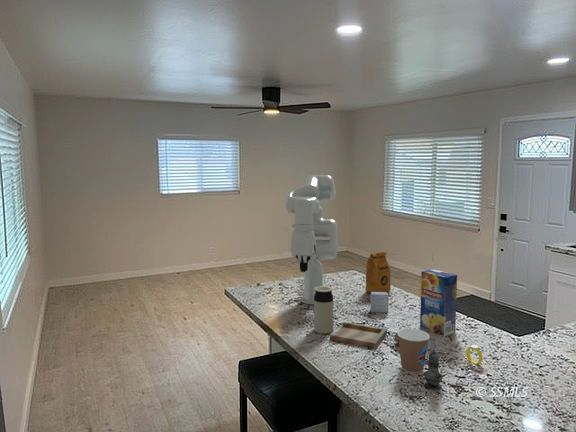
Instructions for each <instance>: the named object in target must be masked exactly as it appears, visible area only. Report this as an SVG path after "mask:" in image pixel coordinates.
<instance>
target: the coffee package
mask: <svg viewBox="0 0 576 432" xmlns="http://www.w3.org/2000/svg"><path fill="white" fill-rule="evenodd" d="M386 255H387V252H386V251H382V252H381V251H380V252H375V253H374V252H373V253H370V254H369V257H368V260H367V262H366V266H365V292H367V293H370V294H371V292H387V293H389V292H390V291H391V274H392V273H391V269H390V265H389V263H388V260H387V256H386Z"/></svg>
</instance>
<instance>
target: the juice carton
mask: <svg viewBox="0 0 576 432" xmlns="http://www.w3.org/2000/svg"><path fill="white" fill-rule="evenodd" d="M420 279H421V280H420V283H421V284H420V311H419V312H420V314H419V315H420V316H419V319H420V320H419V328H422V329H424V330H427V331H429V332H431V333H435V334H437V335H440V336H441V337H444V336H448V335H451V334H454V333H456V320H457V319H456V318H457V317H456V316H457V294H458V293H457V291H458V274H456V273H451V272H447V271H442V270H439V269H434V268H433V269H432V268H431V269H427V270H422V271H421V277H420Z"/></svg>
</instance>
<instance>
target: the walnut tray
mask: <svg viewBox="0 0 576 432" xmlns="http://www.w3.org/2000/svg"><path fill="white" fill-rule="evenodd" d="M386 335H388V328H383V327H376V326H370V325H364V324H360V323H359V324H358V323H353V322H346V321H343V322H342V325H341V327H340V328H339V329H338V330H337V331H336V332H335V333H334V334H333V333H329V341H335V342H340V343H345V344H350V345H355V346H360V347H364V348H370V349H375V350H376V349H377V348H378V346H379V345H380V344H381V342H382V341H383V340H384V338H385V337H386Z"/></svg>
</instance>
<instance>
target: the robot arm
mask: <svg viewBox="0 0 576 432" xmlns="http://www.w3.org/2000/svg"><path fill="white" fill-rule="evenodd" d="M336 189H337V188H336V185H335V180H334V178H333V177H332V176H331V175H329V174H325V175H324V174H319V175H318V174H311V175H308V176H306V177H305V179H304V181H303V184H302V186H301V187H298V188H295V189H293V190H292V191H290V192H289V193H288V196H287V198H286V199H287V200H286V204H285V208H286V211H287V213H288V214H289V215H290V214H291V215H294V224H291V228H292V229H293V231H292V233H291V241H290V254H291V257H293V258H296V259H297V261H298V263H299V270H300V272H301V273H303V291H302V290H298V291H297V296H298V297H301V298H300V301H301V302H302V303H303V304H305V305H313V306H314V295H315V293H316V292H315V287H318V286H324V283H323V282H324V267H323V264H322V263H321V262H320V260H334V259H335V258H337V256H338V234H339V233H338V223H337V221H336V220H334V219H332V218H324V210H323V207H322V206H321V205H320V204H321V203H320V201H322V202H323V201H324V202H325V201H326V202H329V201H330V202H331V201H333V200H335V197H336V194H337V192H336V191H337V190H336ZM316 238H319V239H316Z"/></svg>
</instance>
